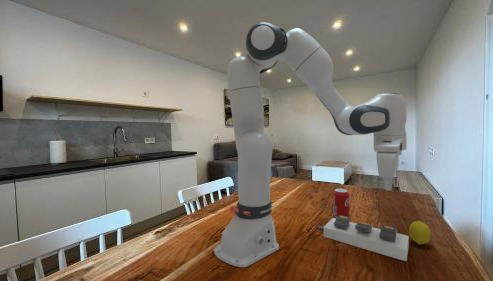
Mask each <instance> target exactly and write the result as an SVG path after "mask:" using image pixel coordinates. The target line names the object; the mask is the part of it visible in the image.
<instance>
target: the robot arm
mask: <svg viewBox="0 0 493 281" xmlns="http://www.w3.org/2000/svg"><path fill="white" fill-rule="evenodd" d="M245 48H246V52H245V53H244V55H242V56H237V57H235V58H233V59H232V60H230V61H229V63H228V64H227V76H226V77H227V90H228V97H229V102H230V103H229V104H230V111H231V115H232V116H231V117H232V125H233V132H234V139H235V140H234V142H235V147H236V151H237V189H238V193H237V194H238V201H237V204H236V206H234V205H231V206H230V207H229V211H230V213H234V214H235V215H234V216H233V217H232V219H231V220H230V221H229V223H228V224H227V225H226V227H225V229H223V231H222V233H221V240H220V243H219V244H218V245H216V246H215V247H214V250H213V253H214V255H215V257H217V258H218V259H219V260H220V261H223V262H224V263H226V264H227V265H231V266H234V267H239V268H247V267H249V266H251V265H254V264H255V263H256V262H258V261H260V260H262V259H264V258H265V257H267V256H270V255H271V254H273V253H275V252H276V251H278V250H279V249H280V246H279V243H278V242H277V236H276V235H277V234H276V228H275V222H274V219H273V217H272V210H273V209H272V208H273V205H272V201H271V191H270V190H271V188H270V187H271V186H270V184H271V182H270V181H271V170H272V158H273V156H272V155H273V150H274V149H273V147H274V146H273V143H272V140H271V139H270V137H269V136H268V135H267V134H265V121H264V120H265V117H264V116H265V110H264V102H263V94H262V88H261V81H260V75H261V74H264V73H265V72H267V71H270V70H271V69H272V68H274V67H275V66H276V65H277V63H278V61H279V62H283V63H285V64H286V65H288V66H289V67H290V69H291V70H292V71H293V72H294V73H295V75H296V76H297V77H298V78H299V79H300V80H301V81H302V82H303V83H304V84H305V85H306V86H307V87H308V88H309V89H310V90H311V91H312V92H313V93H314V94H315V96H316V97H317V98H318V99H319V101H320V102H321V103H322V105H323V106H324V108H326V110H327V111H328V112H329V114H330V115H331V117H332V120H333V123H334V125H335V128H336V129H337V131H338V132H339V133H341V134H342V135H346V136H353V135H355V136H356V135H357V136H362V135H363V136H365V135H370V134H373V150H374V152H376V163H377V172H378V176H379V178H382V181H383V184H384V186H383V187H384V189H383V190H385V191H392V189H393V187H392V186H393V185H394V184H395V178H396V174H397V170H398V169H399V161H400V160H399V156H401V155H402V151H406V150H407V139H408V138H407V137H408V136H407V130H406V123H407V119H408V118H407V104H406V99H405V98H404V96H403V95H401V94H400V93H396V92H381V93H378V94H376V95H375V96H374V97H373V98H371V99H369V100H368V101H366V102H363V103H361V104H358V105H355V106H351V105H349V104H348V103H347V102H346V101H345V100H344V99H343V97H342V96H341V95H340V93H339V92H338V91H337V89H336V88H335V86H334V83H333V74H334V61H333V60H332V58H331V57H330V55H329V54H328V52H327V51H326V50H325V49H324V48H323V46H322V45H321V44H320V43H319V41H317V40H316V38H315V39H314V37H313V36H311V34H309V33H307V31H305V30H303V29H302V28H299V27H296V28H295V27H294V28H292V29H290V30H289V31H287V32H286V30H285V29H283V28H281V27H279V26H276V25H274V24H273V23H270V22H264V21H260V22H257V23H256V24H253V25H252V26H251V27H250V29H249V30H248V32H247V35H246V39H245ZM392 184H393V185H392Z"/></svg>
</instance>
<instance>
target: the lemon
mask: <svg viewBox="0 0 493 281" xmlns="http://www.w3.org/2000/svg"><path fill="white" fill-rule="evenodd" d="M408 233H409V238H411V240H412V241H414V242H415V243H416V244H418V245H419V246H421V245H424V244H425V245H426V244H427V243H429V242H430V241H431V236H432V235H431V230H430V228H429V226H428V225H427V224H426V223H424V222H423V221H421V220H416V221H412V223H411V224H410V225H409V228H408Z"/></svg>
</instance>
